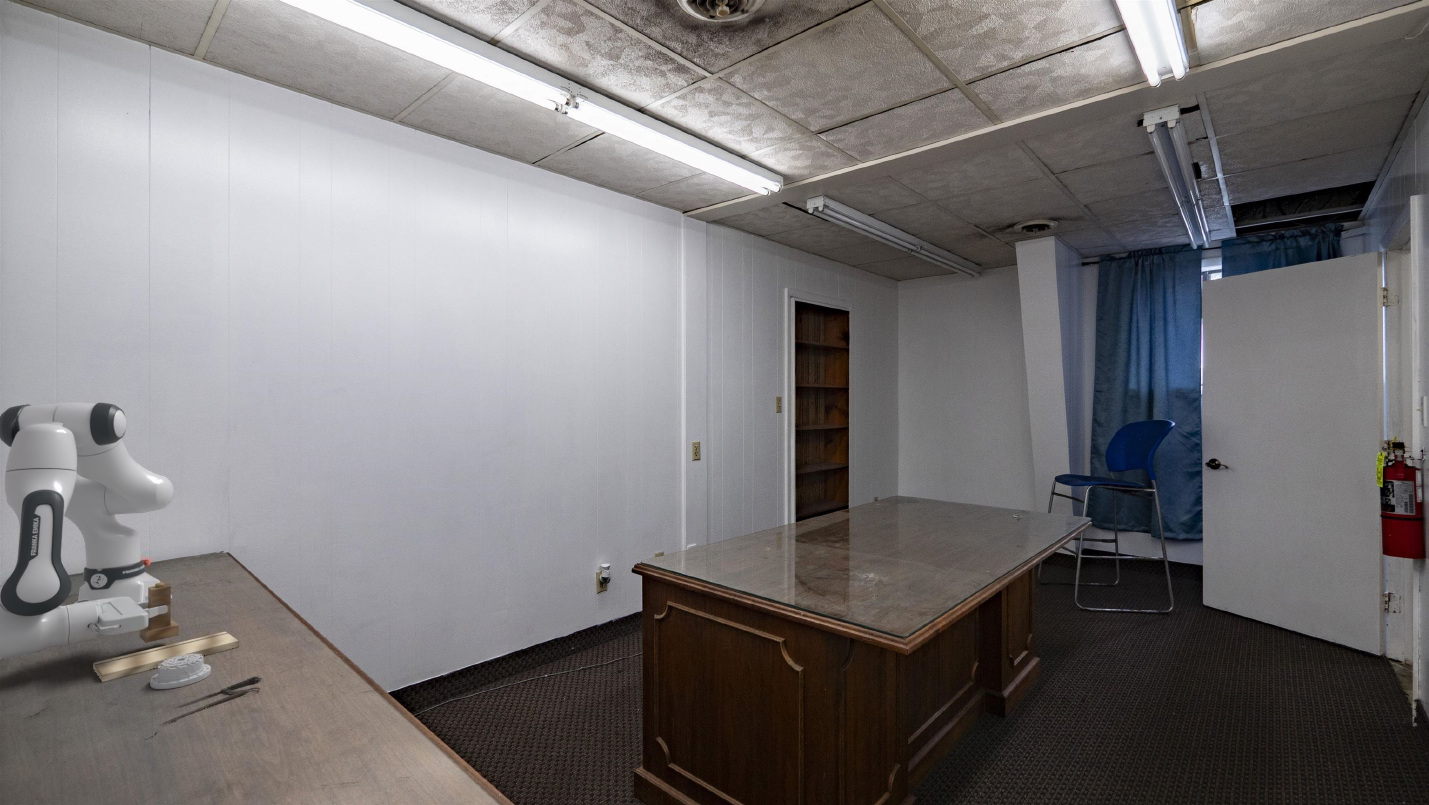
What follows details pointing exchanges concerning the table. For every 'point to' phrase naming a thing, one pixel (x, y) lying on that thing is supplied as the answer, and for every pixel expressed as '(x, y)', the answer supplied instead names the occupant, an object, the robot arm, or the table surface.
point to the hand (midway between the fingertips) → (164, 606)
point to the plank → (162, 655)
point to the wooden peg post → (160, 623)
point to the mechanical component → (180, 671)
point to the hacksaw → (226, 690)
